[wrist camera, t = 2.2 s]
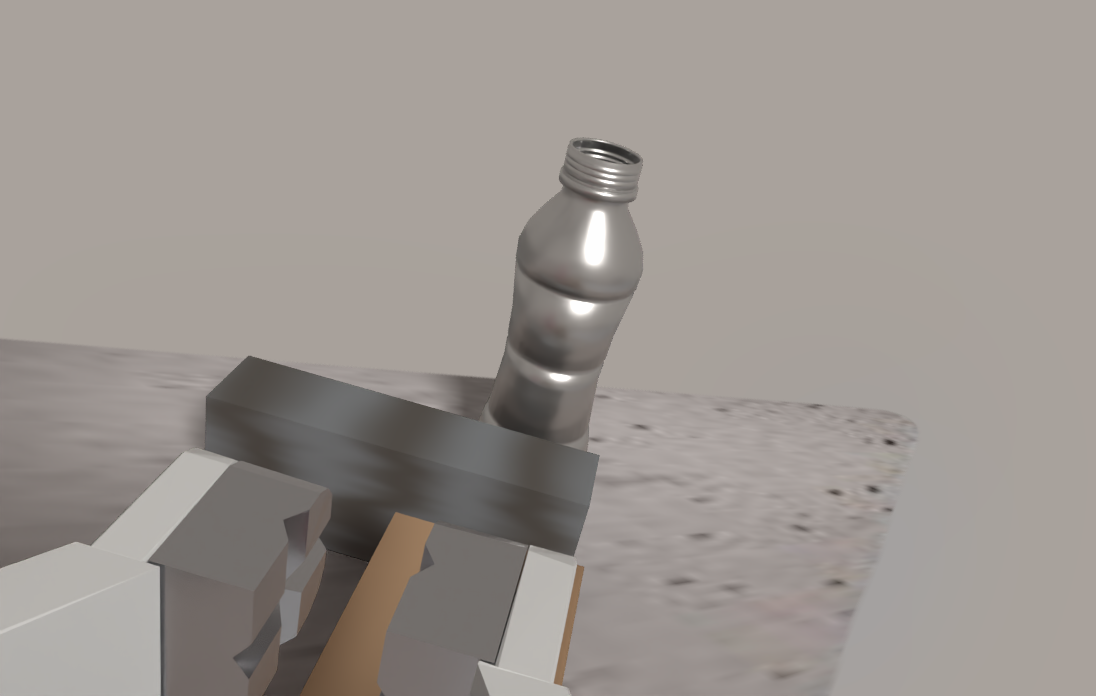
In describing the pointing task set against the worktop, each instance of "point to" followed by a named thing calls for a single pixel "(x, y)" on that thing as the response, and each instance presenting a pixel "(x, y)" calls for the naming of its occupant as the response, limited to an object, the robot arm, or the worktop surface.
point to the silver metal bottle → (569, 296)
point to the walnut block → (388, 615)
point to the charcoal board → (398, 460)
